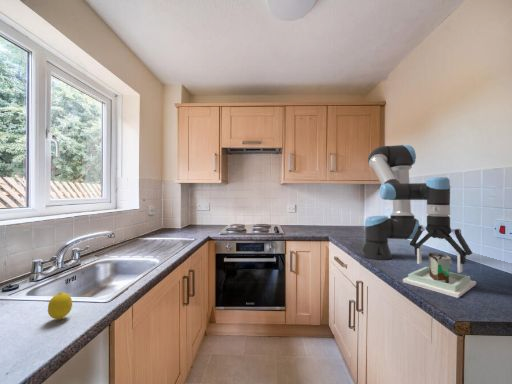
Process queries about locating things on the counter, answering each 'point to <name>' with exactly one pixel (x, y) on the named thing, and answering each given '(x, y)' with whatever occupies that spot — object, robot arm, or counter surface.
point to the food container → (439, 267)
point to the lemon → (59, 306)
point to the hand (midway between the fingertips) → (438, 267)
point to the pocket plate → (453, 288)
